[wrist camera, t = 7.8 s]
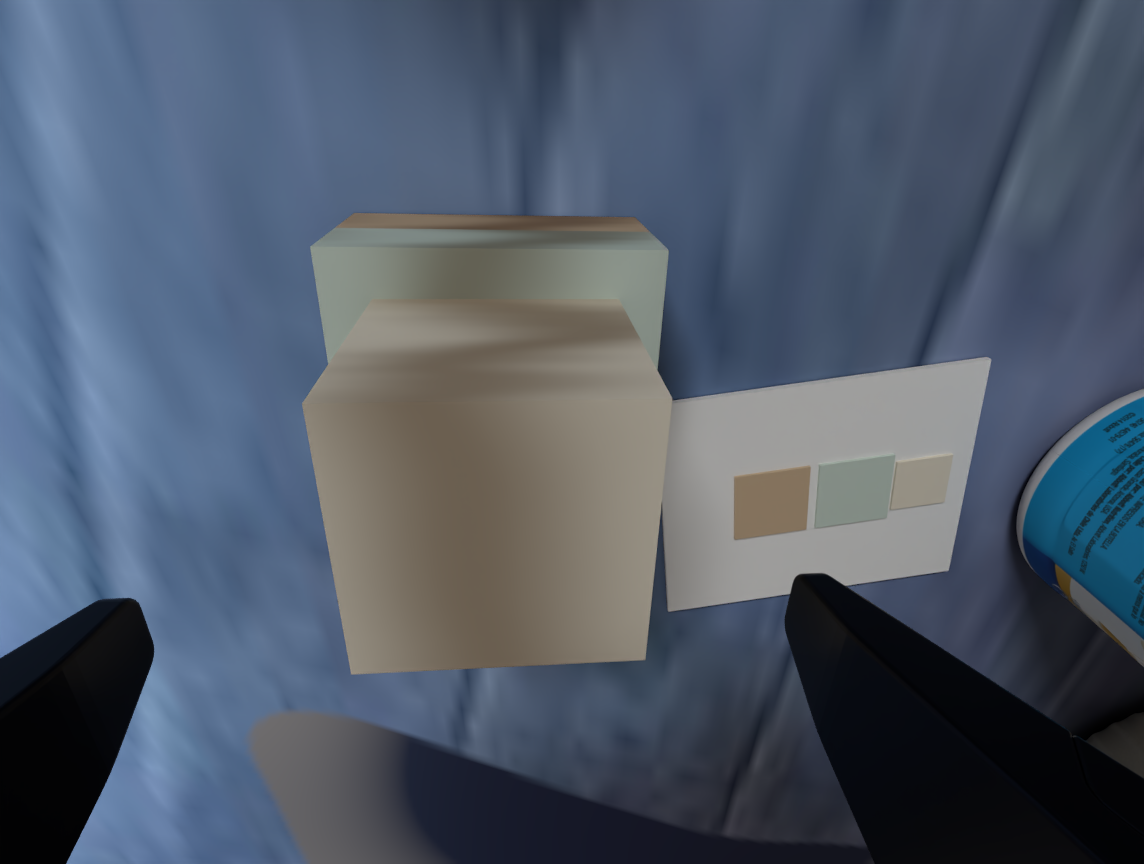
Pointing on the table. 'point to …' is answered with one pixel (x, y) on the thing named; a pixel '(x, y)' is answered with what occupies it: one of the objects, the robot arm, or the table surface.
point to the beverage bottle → (1093, 520)
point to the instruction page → (817, 481)
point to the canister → (1123, 742)
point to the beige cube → (491, 483)
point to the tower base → (488, 264)
